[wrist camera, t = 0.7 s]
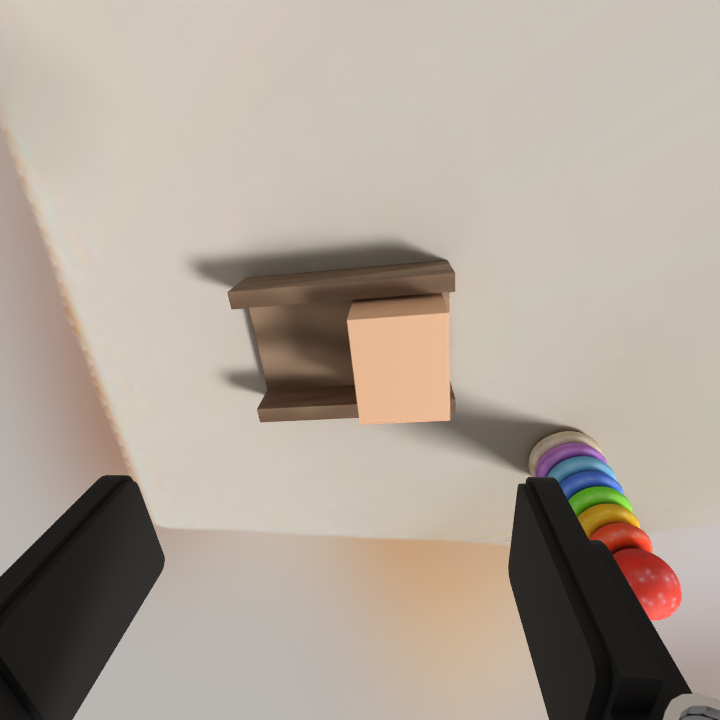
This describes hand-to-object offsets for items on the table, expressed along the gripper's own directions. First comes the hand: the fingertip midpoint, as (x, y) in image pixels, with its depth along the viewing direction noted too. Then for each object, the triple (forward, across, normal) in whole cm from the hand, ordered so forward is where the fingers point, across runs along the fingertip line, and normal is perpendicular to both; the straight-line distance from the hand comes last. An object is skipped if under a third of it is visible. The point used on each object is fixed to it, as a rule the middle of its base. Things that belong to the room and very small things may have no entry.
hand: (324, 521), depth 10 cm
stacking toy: (+33, -20, +23) cm, 45 cm away
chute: (+32, +3, +7) cm, 33 cm away
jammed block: (+31, -2, +7) cm, 32 cm away
